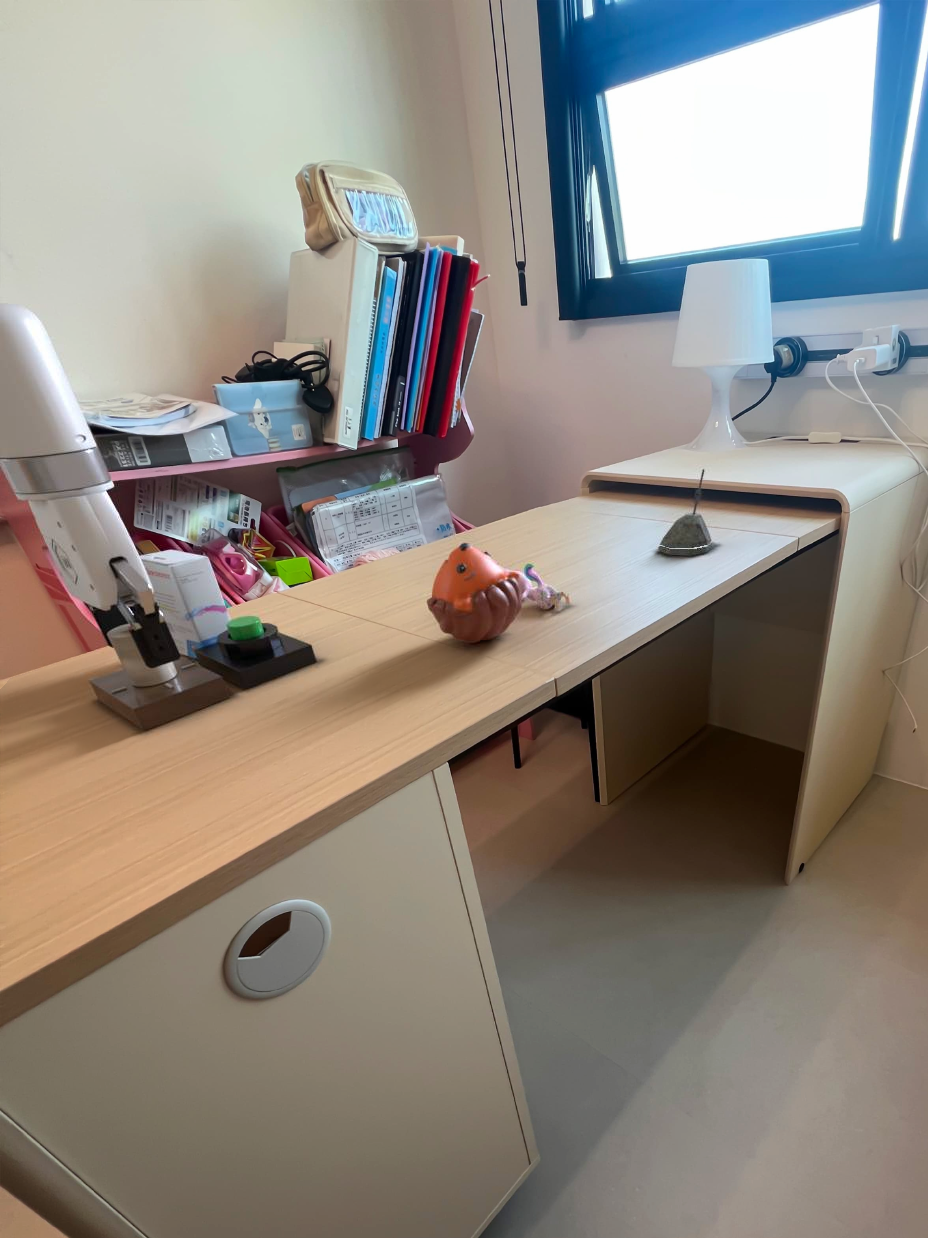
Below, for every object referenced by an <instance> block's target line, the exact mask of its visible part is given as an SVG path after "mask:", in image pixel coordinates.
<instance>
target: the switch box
mask: <svg viewBox="0 0 928 1238" xmlns="http://www.w3.org/2000/svg"><path fill="white" fill-rule="evenodd" d="M261 624H262V627H263V630H264V633H263V634H261V635H259V636H256V637H253V638H249V639H243V640H232V639H231V636H230V633H229V631H228V629H227V630H226V631H224V632H223V633H221V634H219V635H218V637H217V642H216V643H213V644H210V645H207V646H204V647H201V648H198V649H195V650H194V652H195V655H196V657H197V659H196V660H197V661H198V665H199V666H201V667H203V668H205V669H207V670H209V671H211V672H213V673H216V674H218V675H220V676H222V678H223V680H224V679H225V680H226V681H228V682H230V683H232V684H235V685H236V686H239V687H241V688H242V689H245V690H248V689H250V688H253V687H256V686H259V685H261V684H263V683H266V682H268V681H271V680H273V679H276V678H278V677H281V676H284V675H286V674H289V673H291V672H293V671H296V670H300V669H301V668H304V667H307V666H310V665H312V664H314V663H317V657H316V655H315V652H314V648H313V645H312V644H311V643H308V642H305V641H303V640H301V639H297V638H294V637H292V636H289V635H288V634H285V633H282V632H280V631H279V629H278V626H277V625H275V624H272V623H270V622H261Z"/></svg>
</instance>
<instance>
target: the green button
mask: <svg viewBox="0 0 928 1238" xmlns="http://www.w3.org/2000/svg"><path fill="white" fill-rule="evenodd" d="M261 623H262V622H261V618H260V617H259V616H256V615H245V616H244V615H243V616H240V617H239V616H238V617H235V618H233V619H231V620H230V621H229V622H227V624H226V626H227V628H228V631H229V633H230V636H231V639H232V640H243V639H249V638H253V637H256V636H259V635H261V634H263V633H264V630H263V627H262V624H261Z"/></svg>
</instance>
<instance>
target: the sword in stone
mask: <svg viewBox="0 0 928 1238" xmlns="http://www.w3.org/2000/svg"><path fill="white" fill-rule="evenodd" d="M705 470H706V469H704V468H703V469H702V470H701V475H700V479H699V484H698V488H697V489H696V490H695V494H694V498H693V503H694V506H693V510H692V511H693V512H689V513H685V514H684V515H682V516H680V517H679V518H678V519H676V520H675V521H674V523H673V524H672V526H671V527H670V528H669V529H668V531H667V532H666V533H665V535H664V536H663V537H662V539H661V542H660V543H659V545H663V546H665V547H663V546H659V545H658V549H657V551H658V552H661V553H664V554H666V555H670V556H688V557H691V556H697V555H703V554H707V553H708V552H709V551H712V550H713V549H714V548H715V547H716V546H717V544H716V543H715V542H713V541H712V536H711V534H710V532H709V529H708V527H707V524H706V522H705V519H704V518H703V516H702V514H701V513H699V512H696V511H697V507H698V505H699V504H700V502H701V498H702V495H703V494H702V489H701V488H702V483H703V479H704V475H705ZM711 541H712V543H711V544H710V545H708V544H709V543H710V542H711ZM704 545H708V546H707V547H702V548H697V549H669V548H694V547H700V546H704ZM666 547H669V548H666Z"/></svg>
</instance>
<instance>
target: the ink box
mask: <svg viewBox="0 0 928 1238" xmlns="http://www.w3.org/2000/svg"><path fill="white" fill-rule="evenodd" d="M139 556H140V558H141V561H142V563H143V565H144V567H145V569H146V572H147V574H148V577H149V579H150V582H151V584H152V587H153V591H154V592H153V597H154V601H155V602H157V603H158V604H157V605H158V606H159V607H160V608H159V610H160V612H161V613H162V614H163V616H164V618H165V622H166V624H167V626H168V628H169V631H170V633H171V635H172V637H173V640H174V642H175V644H176V646H177V648H178V651H179V653H180V655H183V656H185V657H186V656H187V657H189V658H192V659H195V660H198V659H197V657H196V655H195V652H194V650H195V649H198V648H201V647H204V646H207V645H210V644H213V643H216V642H217V637H218V635H219V634H221V633H223V632H224V631H226V630H227V629H228V628H227V626H226V624H227V622H229V621H230V620H232V619H231V617H230V614H229V612H228V609H227V605H226V603H225V600H224V597H223V594H222V591H221V588H220V585H219V583H218V580H217V578H216V574H215V572H214V569H213V566H212V563H211V561H210V558H209V557H208V556H207V555H206V556H204V555H201V554H195V553H191V552H185V551H180V550H176V549H167V550H163V551H158V552H157V551H156V552H152V553H147V554H141V555H139Z"/></svg>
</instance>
